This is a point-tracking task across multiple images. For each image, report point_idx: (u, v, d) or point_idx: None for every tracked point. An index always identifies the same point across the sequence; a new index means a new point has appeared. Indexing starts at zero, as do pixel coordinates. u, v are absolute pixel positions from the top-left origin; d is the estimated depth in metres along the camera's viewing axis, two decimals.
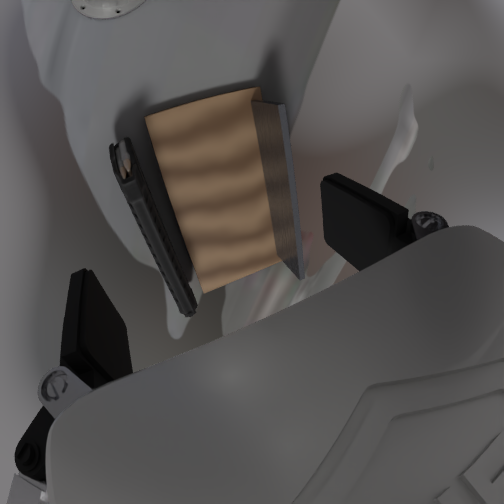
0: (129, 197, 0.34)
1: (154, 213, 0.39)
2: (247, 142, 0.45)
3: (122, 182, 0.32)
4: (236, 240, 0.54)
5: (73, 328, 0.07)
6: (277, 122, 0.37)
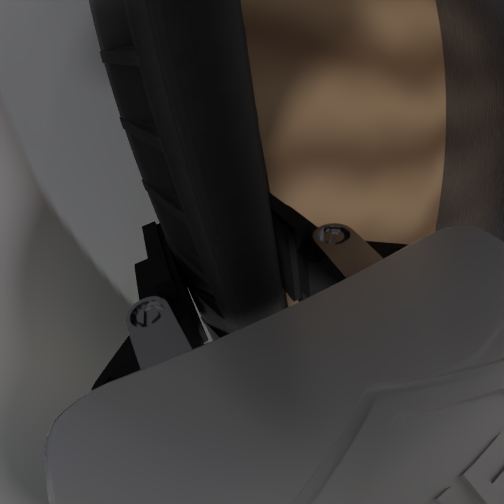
0: None
1: None
2: (428, 30, 0.13)
3: None
4: None
5: (161, 263, 0.08)
6: None
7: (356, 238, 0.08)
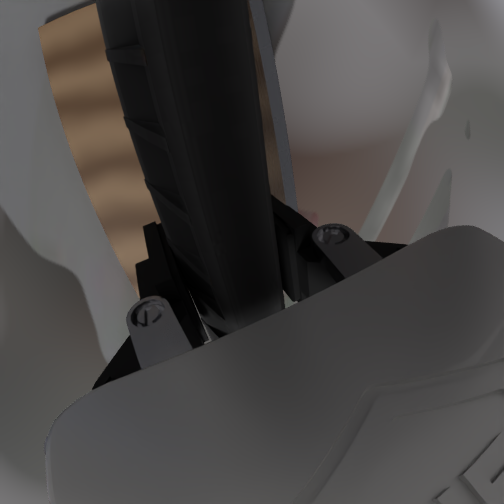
0: None
1: None
2: None
3: None
4: None
5: (161, 263, 0.08)
6: None
7: (355, 238, 0.08)
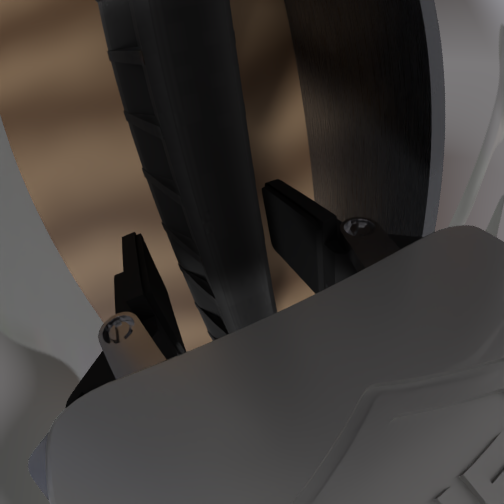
0: None
1: None
2: (260, 25, 0.12)
3: None
4: None
5: (135, 277, 0.08)
6: None
7: (381, 233, 0.08)
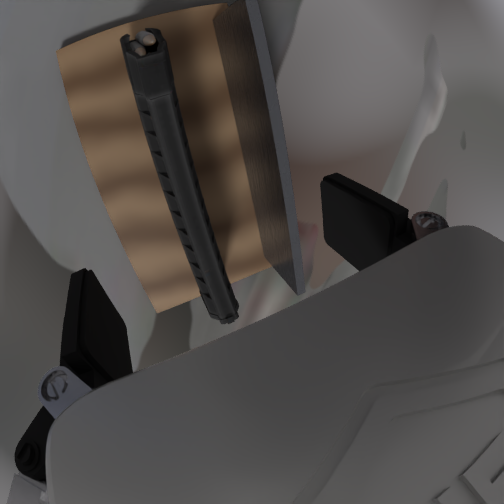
0: (146, 88, 0.16)
1: (183, 134, 0.21)
2: (208, 78, 0.26)
3: (138, 57, 0.15)
4: None
5: (73, 328, 0.07)
6: (245, 24, 0.18)
7: None
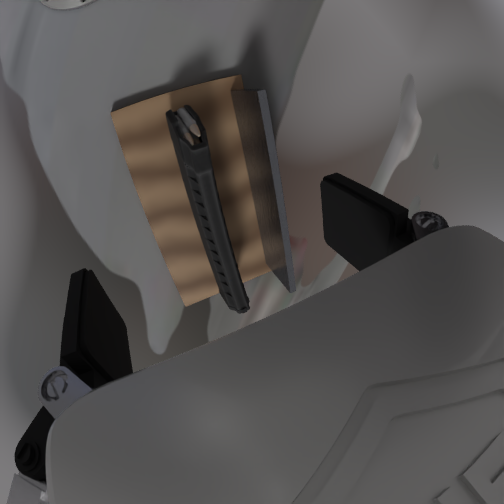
0: (196, 167, 0.30)
1: (216, 190, 0.35)
2: (227, 137, 0.39)
3: (191, 148, 0.28)
4: None
5: (73, 328, 0.07)
6: (258, 111, 0.31)
7: None
